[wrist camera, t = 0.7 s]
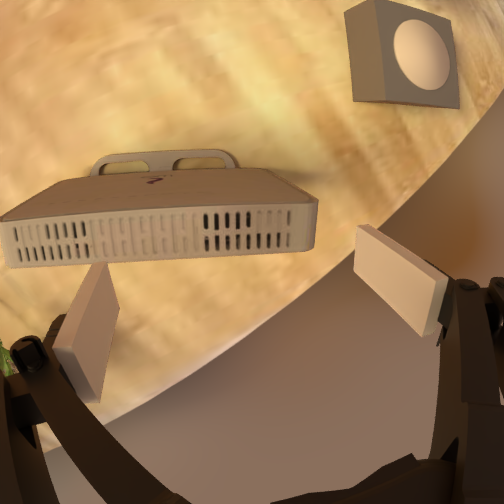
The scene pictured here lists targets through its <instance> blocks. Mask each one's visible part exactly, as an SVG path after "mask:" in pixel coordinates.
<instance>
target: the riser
mask: <svg viewBox="0 0 504 504" xmlns="http://www.w3.org/2000/svg"><path fill="white" fill-rule="evenodd" d="M344 17H345V24H346V32H347V40H348V49H349V58H350V68H351V79H352V92H353V102H375V103H390V104H402V105H413V106H422V107H437V108H452V109H460V104H459V86H458V74H457V63H456V55H455V47H454V40H453V33H452V27H451V21H450V20H448V19H446V18H443V17H440V16H437V15H435V14H432V13H429V12H426V11H423V10H420V9H416V8H413V7H410V6H407V5H403V4H399V3H396V2H392V1H388V0H366V1H364V2H362V3H360V4H358V5H356V6H354V7H353V8H351V9H349V10H347V11H345V12H344Z"/></svg>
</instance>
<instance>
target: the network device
mask: <svg viewBox="0 0 504 504" xmlns="http://www.w3.org/2000/svg"><path fill="white" fill-rule="evenodd" d="M202 157H219V158H221V159H223V160H224V162H225V169H190V170H173V164H174V162H175V161H176V160H178V159H180V158H202ZM128 161H144V162H146V163H147V165H148V166H149V172H136V173H123V174H112V175H101V176H100V175H99V171H100V168H101V166H102V165H103V164H106V163H116V162H128ZM317 211H318V199H317V198H315V197H314V196H312V195H310V194H309V193H307V192H305V191H304V190H302V189H300V188H298V187H297V186H295V185H293V184H291V183H290V182H288V181H286V180H284V179H283V178H281V177H279V176H277V175H276V174H274V173H272V172H270V171H268V170H266V169H258V168H235V164H234V162H233V160H232V158H231V157H230V156H229V155H228V154H226V153H225V152H223V151H220V150H216V149H202V150H174V151H155V152H140V153H128V154H116V155H108V156H105V157H103V158H101V159H99V160H98V161H97V162H96V163H95V164H94V165H93V167H92V169H91V173H90V177H81V178H73V179H67V180H63V181H60V182H58V183H56V184H54V185H52V186H50V187H49V188H47V189H45V190H43V191H42V192H40V193H38V194H36V195H35V196H33V197H31V198H30V199H28V200H26V201H25V202H23V203H21V204H20V205H18V206H16V207H15V208H13V209H12V210H10V211H8V212H7V213H5V214H4V215H2V216H1V217H0V242H1V247H2V251H3V256H4V260H5V264H6V266H7V267H8V268H31V267H49V266H67V265H85V264H92V263H96V262H102V261H107V263H121V262H138V261H156V260H173V259H190V258H207V257H224V256H241V255H258V254H274V253H291V252H305V251H309V250H311V249H313V248H314V243H315V233H316V222H317Z"/></svg>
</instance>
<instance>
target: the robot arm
mask: <svg viewBox="0 0 504 504" xmlns="http://www.w3.org/2000/svg"><path fill="white" fill-rule="evenodd" d="M354 272H355V273H356V274H357V275H359V277H360V278H362V279H363V280H364V281H365V282H366V283H367V284H368V285H369V286H370V287H371V288H372V289H373V290H374V291H375V292H376V293H377V294H378V295H379V296H381V298H383V299H384V300H385V301H386V302H387V303H388V304H389V305H390V306H391V307H392V308H393V309H394V310H395V311H396V312H397V313H398V314H399V315H400V316H401V317H402V318H403V319H404V320H405V321H406V322H407V323H408V324H409V325H410V326H411V327H412V328H413V329H414V330H415V331H416V332H417V333H418V334H419V335H420V336H421V337H424V336H427V335H429V334H432V333H434V332H435V328H436V325H437V322H440V323H441V324H442V325H443V326H442V329H441V333H440V336H439V339H438V342H437V345H436V346H439V344H440V368H439V385H438V398H437V407H436V416H435V424H434V432H433V439H432V445H431V451H430V454H429V458H428V459H422V460H416V459H415V457H414V455H413V454H412V453H411V454H409V455H407V456H404V457H402V458H401V459H398V460H396V461H394V462H392V463H389V464H387V465H385V466H383V467H381V468H380V469H378V470H377V471H376V472H374V473H373V474H371V475H370V476H369V477H367V478H366V479H364V480H363V481H361V482H360V483H359V484H357V485H356V486H354V487H352V488H349V489H344V490H336V491H325V492H315V493H307V494H304V495H300V496H296V497H292V498H289V499H285V500H280V501H276V502H272V503H270V504H504V405H501V403H500V392H499V387H500V390H501V392H502V395H503V398H504V278H503V277H493V278H491V280H490V283H489V287H487V288H480V286H479V285H478V284H477V283H475V282H474V281H472V280H468V279H457V280H454V279H453V278H452V277H450V276H449V275H447V274H446V273H444V272H443V271H442V270H439V268H437V267H436V266H434V265H433V264H431V263H430V262H428V261H427V260H424V259H422V258H420V257H418V256H417V255H415V254H413V253H412V252H410V251H409V250H408V249H406V248H405V247H403V246H402V245H400V244H398V243H397V242H395V241H394V240H392V239H391V238H389V237H388V236H386V235H384V234H383V233H381V232H380V231H378V230H377V229H375V228H373V227H372V226H370V225H369V224H367V225H359V226H357V229H356V245H355V259H354ZM119 309H120V307H119V304H118V301H117V297H116V294H115V291H114V287H113V283H112V280H111V276H110V272H109V269H108V265H107V261H102V262H96V263H92V265H91V267H90V269H89V271H88V273H87V274H86V276H85V278H84V280H83V282H82V284H81V286H80V288H79V290H78V292H77V294H76V296H75V298H74V300H73V302H72V304H71V307H70V309H69V311H68V313H67V314H62V315H59V316H58V317H57V318H56V319H55V320H54V321H53V322H52V324H51V326H50V328H49V331H48V332H47V334H46V337H45V339H44V341H43V343H42V342H41V340H40V338H38V337H37V336H33V335H31V336H25V337H23V338H20V339H19V340H18V341H16V342H15V343H14V344H13V345H12V346H11V348H10V351H9V353H10V357H11V359H12V360H13V362H14V364H15V366H16V367H17V369H18V371H19V373H16V374H13V375H10V376H6V377H5V375H4V373H3V372H2V370H1V369H0V504H60V503H59V501H58V498H57V495H56V493H55V490H54V487H53V484H52V481H51V478H50V475H49V472H48V468H47V465H46V462H45V459H44V455H43V451H42V447H41V444H40V440H39V436H38V431H37V427H36V425H37V424H41V423H44V422H47V423H48V425H49V426H50V428H51V430H52V431H53V433H54V434H55V436H56V437H57V439H58V440H59V442H60V443H61V445H62V446H63V448H64V449H65V451H66V452H67V454H68V455H69V456H70V458H71V459H72V461H73V462H74V463H75V465H76V466H77V467H78V468H79V470H80V471H81V473H82V474H83V475H84V476H85V478H86V479H87V480H88V481H89V483H90V484H91V485H92V486H93V488H94V489H95V490H96V491H97V493H98V494H99V495H100V496H101V497H102V498H103V499H104V501H105V502H106V503H107V504H191V503H190V502H188V501H187V500H186V499H185V498H183V497H182V496H180V495H179V494H177V493H173V492H171V491H170V490H169V489H168V488H166V487H165V486H164V485H163V484H162V483H161V482H159V481H158V480H157V479H156V478H155V477H154V476H153V475H152V474H150V473H149V472H148V471H147V470H146V469H145V468H144V467H143V466H142V465H141V464H140V463H139V462H138V461H137V460H136V459H134V458H133V457H132V456H131V455H130V454H129V453H128V452H127V451H126V450H125V449H124V448H123V447H122V446H121V445H120V443H118V441H116V439H115V438H114V437H113V436H112V435H111V434H110V433H109V432H108V431H107V430H106V429H105V427H104V426H103V425H102V424H101V423H100V422H99V421H98V420H97V418H96V417H95V416H94V415H93V414H92V413H91V411H90V410H89V409H88V408H87V407H86V406H85V404H84V403H100V399H101V393H102V388H103V382H104V377H105V372H106V367H107V362H108V357H109V352H110V347H111V343H112V338H113V334H114V330H115V325H116V321H117V317H118V313H119ZM502 321H503V326H501V324H502Z"/></svg>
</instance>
